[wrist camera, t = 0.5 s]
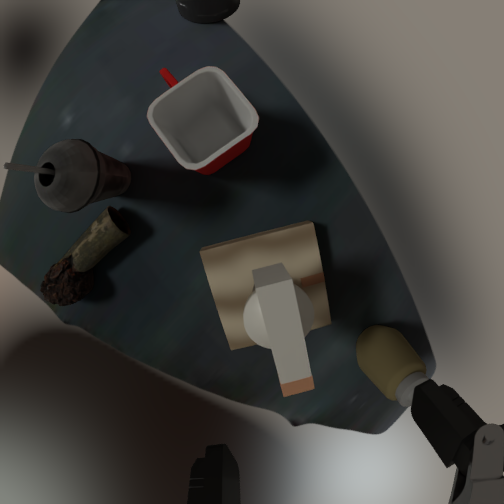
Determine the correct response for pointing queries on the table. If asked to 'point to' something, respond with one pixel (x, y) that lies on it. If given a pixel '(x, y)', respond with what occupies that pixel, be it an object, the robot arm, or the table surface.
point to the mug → (203, 119)
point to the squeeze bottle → (390, 363)
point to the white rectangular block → (281, 325)
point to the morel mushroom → (84, 259)
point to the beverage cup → (76, 175)
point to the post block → (257, 256)
